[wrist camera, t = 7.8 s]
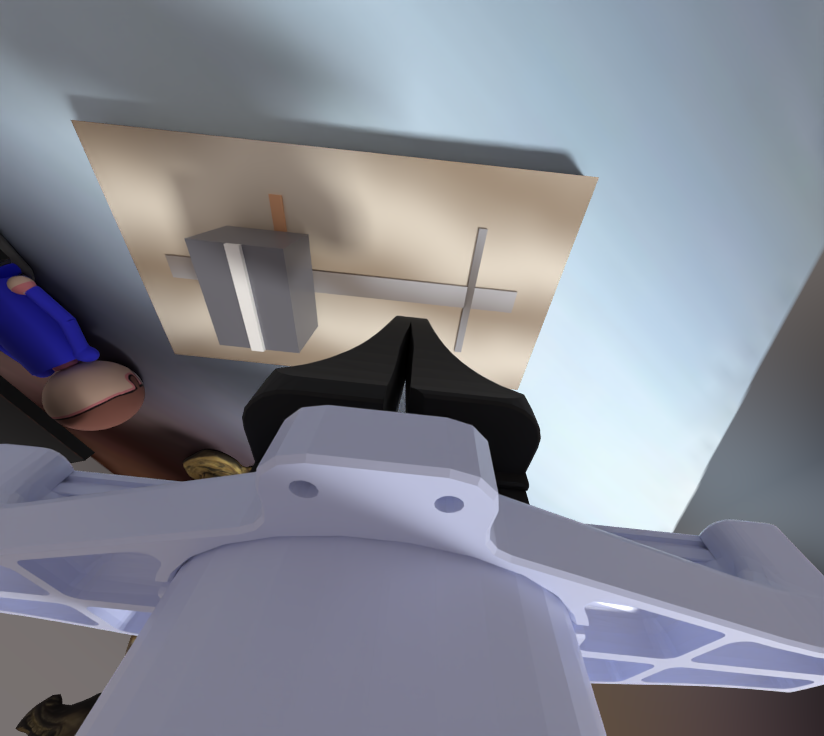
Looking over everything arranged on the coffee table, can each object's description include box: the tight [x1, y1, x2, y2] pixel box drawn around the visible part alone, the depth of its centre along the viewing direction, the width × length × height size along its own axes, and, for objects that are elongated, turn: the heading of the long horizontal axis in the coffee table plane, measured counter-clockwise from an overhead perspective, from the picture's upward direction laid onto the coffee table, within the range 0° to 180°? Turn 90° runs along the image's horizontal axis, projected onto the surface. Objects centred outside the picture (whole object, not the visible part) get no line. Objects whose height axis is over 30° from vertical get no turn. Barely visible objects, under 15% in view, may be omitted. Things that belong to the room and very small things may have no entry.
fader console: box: [71, 120, 599, 390], centre depth 17 cm, size 12×23×2 cm, turn 85°
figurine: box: [16, 449, 252, 736], centre depth 26 cm, size 13×25×20 cm, turn 20°
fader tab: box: [184, 226, 318, 353], centre depth 14 cm, size 5×4×3 cm
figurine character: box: [0, 234, 145, 463], centre depth 18 cm, size 7×8×15 cm
